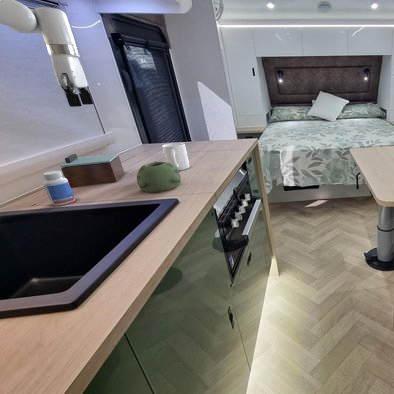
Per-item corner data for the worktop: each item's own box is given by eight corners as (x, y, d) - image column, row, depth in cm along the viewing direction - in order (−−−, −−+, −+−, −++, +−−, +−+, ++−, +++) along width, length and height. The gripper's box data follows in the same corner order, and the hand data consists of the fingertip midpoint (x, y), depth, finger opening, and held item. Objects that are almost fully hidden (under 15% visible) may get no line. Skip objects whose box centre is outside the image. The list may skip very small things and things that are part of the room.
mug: (188, 172, 119) (182, 147, 115) (164, 175, 116) (158, 149, 112) (190, 165, 129) (185, 142, 125) (169, 167, 126) (163, 143, 122)
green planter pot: (184, 189, 100) (178, 165, 97) (139, 197, 94) (131, 171, 90) (179, 177, 113) (174, 155, 109) (140, 183, 106) (133, 160, 103)
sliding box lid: (60, 167, 100) (57, 160, 99) (74, 158, 111) (71, 152, 110) (110, 162, 106) (107, 155, 105) (118, 154, 116) (116, 148, 115)
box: (68, 187, 103) (60, 168, 100) (81, 177, 114) (74, 159, 111) (116, 181, 108) (110, 163, 106) (124, 172, 119) (118, 155, 116)
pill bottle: (80, 200, 92) (68, 170, 89) (60, 206, 87) (47, 175, 84) (67, 198, 94) (55, 169, 90) (47, 204, 89) (34, 174, 85)
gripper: (62, 53, 103) (80, 104, 109) (34, 49, 88) (56, 107, 94) (88, 54, 105) (104, 103, 112) (65, 49, 90) (84, 106, 97)
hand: (82, 105), depth 103 cm, fingers open, 9 cm apart
